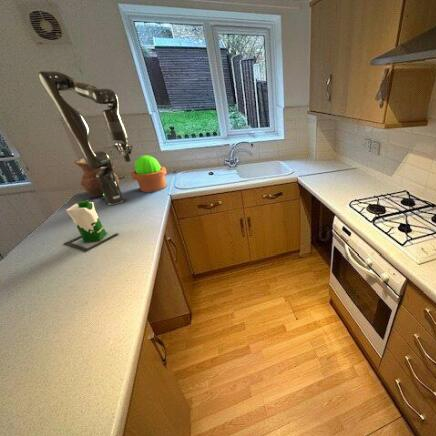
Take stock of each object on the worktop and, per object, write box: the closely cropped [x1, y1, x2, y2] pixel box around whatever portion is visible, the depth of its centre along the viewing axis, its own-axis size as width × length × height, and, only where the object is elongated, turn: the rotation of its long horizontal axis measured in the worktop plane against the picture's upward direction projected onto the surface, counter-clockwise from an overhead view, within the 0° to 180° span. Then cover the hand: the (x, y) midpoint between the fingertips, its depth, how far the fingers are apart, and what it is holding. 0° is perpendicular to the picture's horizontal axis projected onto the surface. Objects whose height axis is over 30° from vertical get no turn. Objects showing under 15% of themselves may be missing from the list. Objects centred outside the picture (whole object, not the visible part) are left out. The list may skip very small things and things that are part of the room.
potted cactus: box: [130, 154, 168, 193], centre depth 175 cm, size 22×22×25 cm
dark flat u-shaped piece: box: [63, 233, 119, 252], centre depth 120 cm, size 17×16×1 cm
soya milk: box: [65, 199, 107, 243], centre depth 116 cm, size 9×9×20 cm
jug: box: [74, 157, 120, 197], centre depth 170 cm, size 22×21×25 cm
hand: (128, 161), depth 139 cm, fingers closed
